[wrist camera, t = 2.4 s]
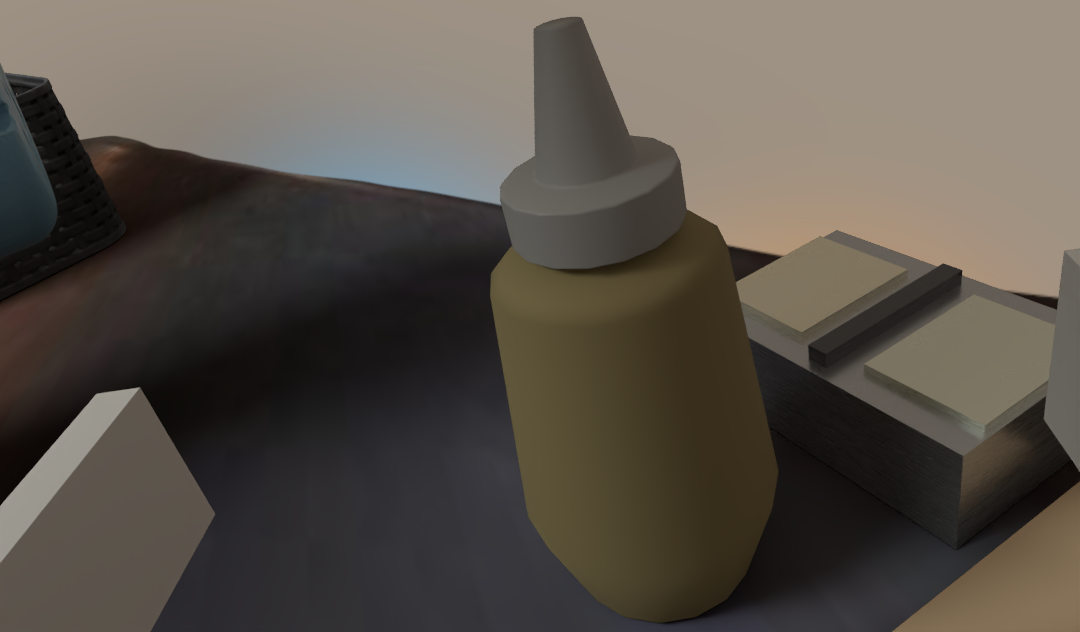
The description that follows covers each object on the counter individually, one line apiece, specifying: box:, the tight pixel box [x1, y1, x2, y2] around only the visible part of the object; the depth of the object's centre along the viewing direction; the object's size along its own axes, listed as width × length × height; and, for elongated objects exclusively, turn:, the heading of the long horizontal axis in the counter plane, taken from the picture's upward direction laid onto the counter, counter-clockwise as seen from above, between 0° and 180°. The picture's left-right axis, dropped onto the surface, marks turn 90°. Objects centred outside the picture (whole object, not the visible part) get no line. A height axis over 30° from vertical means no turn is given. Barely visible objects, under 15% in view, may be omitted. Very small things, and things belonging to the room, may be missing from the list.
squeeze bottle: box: [490, 17, 779, 623], centre depth 24 cm, size 8×8×18 cm
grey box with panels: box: [736, 230, 1071, 549], centre depth 31 cm, size 12×8×5 cm, turn 31°
